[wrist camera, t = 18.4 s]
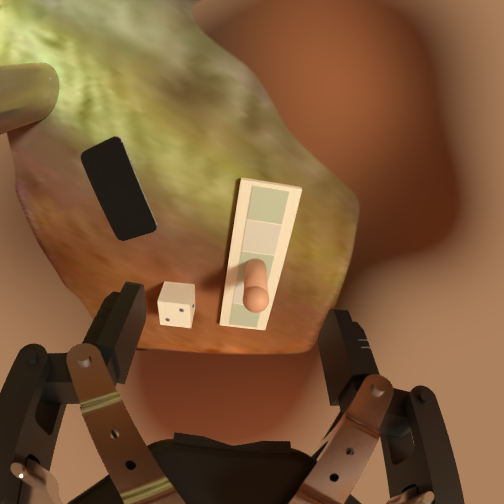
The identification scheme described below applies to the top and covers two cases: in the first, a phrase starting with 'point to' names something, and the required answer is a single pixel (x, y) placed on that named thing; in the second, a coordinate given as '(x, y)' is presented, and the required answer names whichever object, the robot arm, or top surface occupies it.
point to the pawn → (255, 286)
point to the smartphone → (118, 189)
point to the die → (176, 304)
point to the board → (258, 245)
